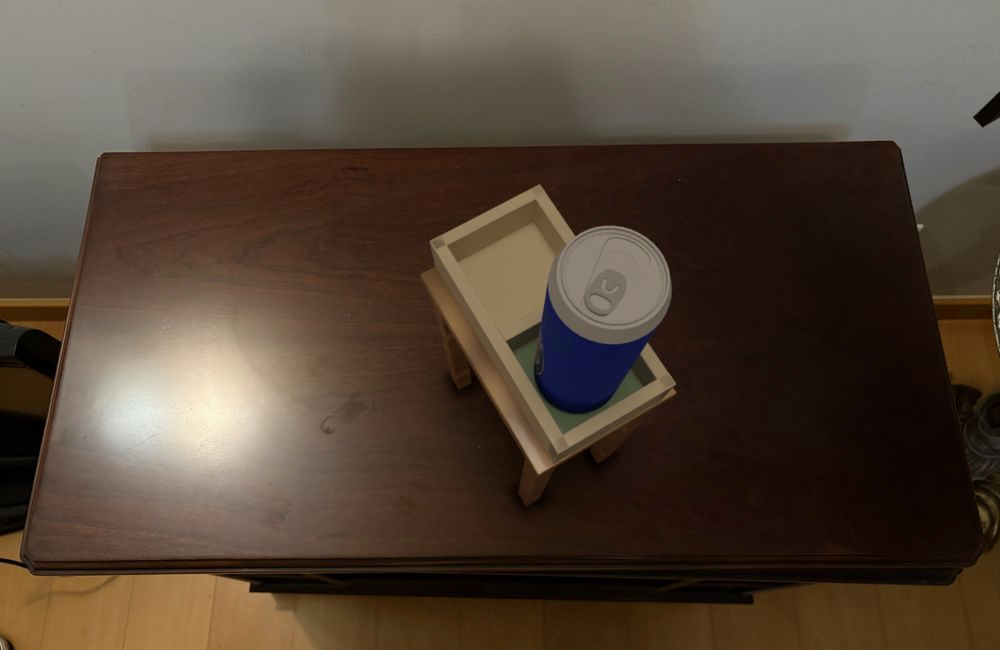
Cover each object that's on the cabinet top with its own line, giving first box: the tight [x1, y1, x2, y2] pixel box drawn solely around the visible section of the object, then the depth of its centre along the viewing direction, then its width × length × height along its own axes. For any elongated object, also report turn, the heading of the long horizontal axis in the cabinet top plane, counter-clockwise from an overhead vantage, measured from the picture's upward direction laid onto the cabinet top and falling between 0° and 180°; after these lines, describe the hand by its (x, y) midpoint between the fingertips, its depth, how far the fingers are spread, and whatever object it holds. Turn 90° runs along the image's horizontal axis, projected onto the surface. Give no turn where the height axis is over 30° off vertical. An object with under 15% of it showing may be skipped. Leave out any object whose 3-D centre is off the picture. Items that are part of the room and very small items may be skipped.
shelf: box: [419, 266, 677, 507], centre depth 57 cm, size 15×10×26 cm, turn 30°
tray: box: [429, 184, 677, 464], centre depth 43 cm, size 15×8×4 cm, turn 30°
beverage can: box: [534, 225, 673, 413], centre depth 36 cm, size 5×5×15 cm
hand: (909, 22), depth 39 cm, fingers open, 13 cm apart
